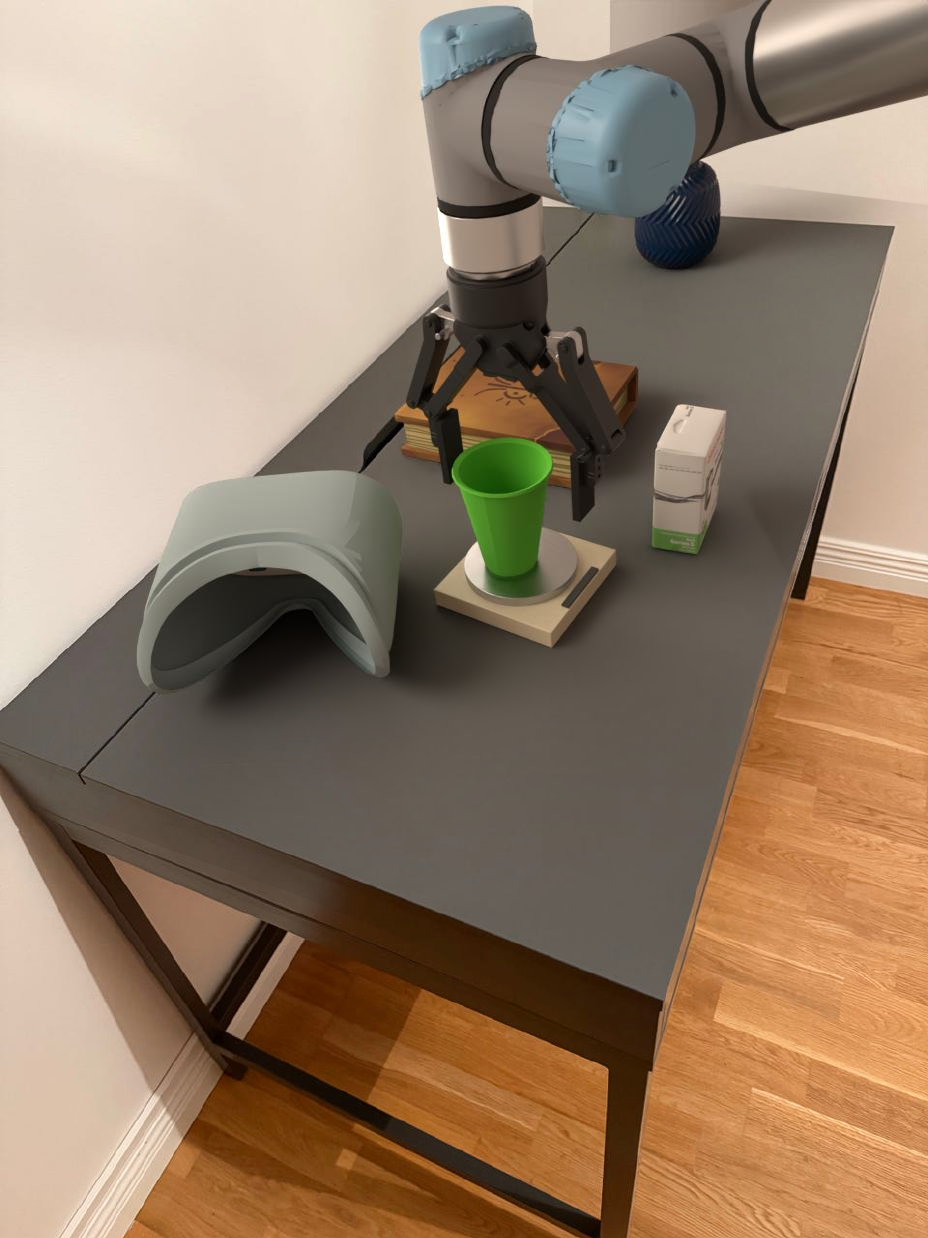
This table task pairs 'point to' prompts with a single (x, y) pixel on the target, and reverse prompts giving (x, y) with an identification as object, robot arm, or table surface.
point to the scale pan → (526, 574)
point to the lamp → (690, 217)
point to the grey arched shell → (272, 572)
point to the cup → (505, 500)
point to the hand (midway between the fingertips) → (516, 494)
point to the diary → (514, 414)
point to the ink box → (687, 477)
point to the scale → (537, 619)
